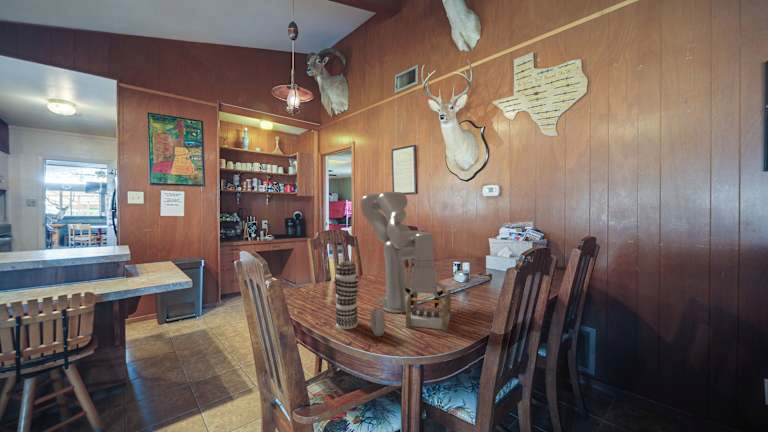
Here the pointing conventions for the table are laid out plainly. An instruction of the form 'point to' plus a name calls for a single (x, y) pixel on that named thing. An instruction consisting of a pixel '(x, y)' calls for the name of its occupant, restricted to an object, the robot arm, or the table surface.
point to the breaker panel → (427, 318)
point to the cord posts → (445, 310)
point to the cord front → (426, 300)
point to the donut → (377, 322)
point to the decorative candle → (346, 295)
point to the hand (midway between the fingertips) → (424, 305)
